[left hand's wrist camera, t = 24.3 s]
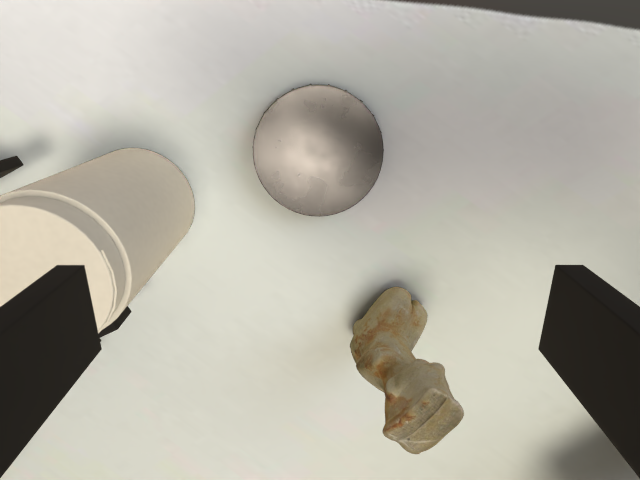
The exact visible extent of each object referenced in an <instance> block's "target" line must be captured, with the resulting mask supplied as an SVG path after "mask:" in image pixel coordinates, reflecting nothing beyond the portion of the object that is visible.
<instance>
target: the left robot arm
mask: <svg viewBox="0 0 640 480" xmlns="http://www.w3.org/2000/svg"><path fill="white" fill-rule="evenodd" d="M100 350H101V344H100V339H99V334H98V329H97V324H96V319H95V315H94V310H93V305H92V300H91V295H90V290H89V285H88V280H87V275H86V270H85V265H56V266H55V267H54V268H52V269H51V270H50V271H48V272H47V273H45V274H44V275H43V276H41V277H40V278H39V279H37V280H36V281H35V282H33V283H32V284H31V285H29V286H28V287H27V288H25V289H24V290H22V291H21V292H20V293H18V294H17V295H16V296H14V297H13V298H12V299H10V300H9V301H8V302H6V303H5V304H4V305H2V306H1V307H0V478H1V476H2V475H3V474H4V473H5V471H6V470H7V469H8V468H9V466H10V465H11V464H12V462H13V461H14V460H15V459H16V457H17V456H18V455H19V454H20V452H21V451H22V450H23V448H24V447H25V446H26V445H27V443H28V442H29V441H30V440H31V438H32V437H33V436H34V434H35V433H36V432H37V431H38V429H39V428H40V427H41V426H42V424H43V423H44V422H45V420H46V419H47V418H48V417H49V415H50V414H51V413H52V412H53V410H54V409H55V408H56V406H57V405H58V404H59V403H60V401H61V400H62V399H63V397H64V396H65V395H66V394H67V392H68V391H69V390H70V389H71V387H72V386H73V385H74V383H75V382H76V381H77V380H78V378H79V377H80V376H81V375H82V373H83V372H84V371H85V369H86V368H87V367H88V366H89V364H90V363H91V362H92V361H93V359H94V358H95V357H96V355H97V354H98V353H99V352H100ZM539 350H540V352H541V353H542V354H543V355H544V357H545V358H546V359H547V361H548V362H549V363H550V364H551V366H552V367H553V368H554V369H555V371H556V372H557V373H558V375H559V376H560V377H561V378H562V380H563V381H564V382H565V383H566V385H567V386H568V387H569V389H570V390H571V391H572V392H573V394H574V395H575V396H576V397H577V399H578V400H579V401H580V403H581V404H582V405H583V406H584V408H585V409H586V410H587V412H588V413H589V414H590V415H591V417H592V418H593V419H594V420H595V422H596V423H597V424H598V426H599V427H600V428H601V429H602V431H603V432H604V433H605V434H606V436H607V437H608V438H609V440H610V441H611V442H612V443H613V445H614V446H615V447H616V448H617V450H618V451H619V452H620V454H621V455H622V456H623V457H624V459H625V460H626V461H627V462H628V464H629V465H630V466H631V468H632V469H633V470H634V471H635V473H636V474H637V475H638V476H639V478H640V307H639V306H638V305H636V304H635V303H634V302H632V301H631V300H630V299H628V298H627V297H626V296H624V295H623V294H622V293H620V292H619V291H618V290H616V289H615V288H613V287H612V286H611V285H609V284H608V283H607V282H605V281H604V280H603V279H601V278H600V277H599V276H597V275H596V274H595V273H593V272H592V271H590V270H589V269H588V268H586V267H585V266H584V265H555V270H554V275H553V280H552V285H551V290H550V295H549V300H548V305H547V310H546V315H545V319H544V324H543V329H542V334H541V339H540V344H539Z"/></svg>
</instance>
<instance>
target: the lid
mask: <svg viewBox="0 0 640 480" xmlns="http://www.w3.org/2000/svg"><path fill="white" fill-rule="evenodd" d="M362 102H363V101H361V100H359V99H357V98H356V97H355V96H353V95H352V94H350V93H348V92H347V90H345V91H344V90H342V89H340V88H337V87H334V86H330V85H329V84H328V85H311V84H310V85H308V86H303V87H299V88H297V89H292V91H290V92H288V93H286V94H285V95H283V96H282V97H280V98H277V99H276V101H275V102H274V103H273V104H272V105H271V106H270V107H269V108H268V110H267V111H265V112H264V115H263V117H262V119H261V120H260V122H259V125H258V127H257V128H256V133H255V137H254V143H253V158H254V165H255V168H256V172H257V174H258V177H259V179H260V181H261V183H262V185H263V186H264V188H265V189H266V190H267V192H268V193H269V194H270V195H271V196H272V197H273V198H274V199H275V200H276V201H277V202H278V203H280V204H281V205H283V206H284V207H286V208H288V209H290V210H292V211H294V212H297V213H300V214H303V215H309V216H328V215H333V214H337V213H340V212H343V211H345V210H347V209H349V208H351V207H352V206H354V205H355V204H357V203H358V202H359V201H360V200H362V199H363V198H364V197H365V196H366V195H367V193H368V192H369V191H370V190H371V188H372V187H373V185H374V184H375V182H376V180H377V178H378V175H379V173H380V170H381V166H382V161H383V151H384V149H383V141H382V135H381V131H380V129H379V126H378V124H377V122H376V120H375V118H374V115H373V114H372V113H371V112H370V111H369V109H368V108H367V107H366V106H365V105H364V104H363V103H362Z"/></svg>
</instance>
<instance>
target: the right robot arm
mask: <svg viewBox="0 0 640 480" xmlns="http://www.w3.org/2000/svg"><path fill="white" fill-rule="evenodd" d="M21 166H23V163H22V162H21V161H20V159H19V158H18V156H14V157H11V158H7V159H4V160H0V178H1V177H3V176H5V175H7V174H9V173H10V172H12V171H14V170H16V169H18V168H19V167H21ZM130 313H131V310H130V309H129V307H128V306H127V307H126V308H125V309H124V311H123V312H122V313H121V314H120V315H119V317H118V318H117V319H116V320H115V321H114V322H113V323H111V324H110V325H109V326H107V327H106V328H104V329H102V330H101V331H100V333H99V339H100V337H102V336H104V335H106V334H109V333H111V332H113V331H115V330H117V329H118V328H119V327H120V326H121V324H122V323H123V322H124V321H125V319H126V318H127V317H128V315H129V314H130ZM100 342H101V339H100Z"/></svg>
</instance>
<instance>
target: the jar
mask: <svg viewBox="0 0 640 480" xmlns="http://www.w3.org/2000/svg"><path fill="white" fill-rule="evenodd" d="M194 211H195V204H194V197H193V193H192V190H191V187H190V185H189V183H188V181H187V179H186V178H185V176H184V175H183V173H182V172H181V171H180V170H179V168H177V167H176V166H175V165H174V164H173V163H172V162H171V161H169V160H168V159H167V158H165V157H163V156H162V155H160V154H157V153H155V152H153V151H149V150H146V149H141V148H124V149H120V150H116V151H113V152H111V153H108V154H106V155H103V156H101V157H98V158H95V159H93V160H90V161H88V162H85V163H83V164H80V165H78V166H75V167H72V168H70V169H67V170H65V171H62V172H60V173H57V174H55V175H52V176H49V177H47V178H44V179H42V180H39V181H37V182H34V183H32V184H29V185H26V186H24V187H21V188H19V189H16V190H14V191H11V192H9V193H6V194H3V195H1V196H0V307H1V306H2V305H4V304H5V303H6V302H8V301H9V300H10V299H12V298H13V297H14V296H16V295H17V294H18V293H20V292H21V291H22V290H24V289H25V288H27V287H28V286H29V285H31V284H32V283H33V282H35V281H36V280H37V279H39V278H40V277H41V276H43V275H44V274H45V273H47V272H48V271H50V270H51V269H52V268H54V267H55V266H56V265H85V270H86V275H87V280H88V285H89V290H90V295H91V300H92V305H93V310H94V315H95V319H96V324H97V329H98V334H99V333H100V331H101V330H102V329H104V328H106V327H107V326H109V325H110V324H111V323H113V322H114V321H115V320H116V319H117V318H118V317H119V315H120V314H121V313H122V312H123V311H124V309H125V308H126V307H127V306H128V304H129V303H130V302H131V301H132V300H133V298H134V297H135V296H136V295H137V293H138V292H139V291H140V290H141V289H142V287H143V286H144V285H145V284H146V282H147V281H148V280H149V279H150V278H151V276H152V275H153V274H154V273H155V272H156V270H157V269H158V268H159V267H160V265H161V264H162V263H163V262H164V261H165V259H166V258H167V257H168V256H169V254H170V253H171V252H172V251H173V250H174V248H175V247H176V246H177V245H178V243H179V242H180V241H181V240H182V239H183V237H184V236H185V235H186V234H187V232H188V230H189V229H190V227H191V224H192V222H193V218H194Z"/></svg>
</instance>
